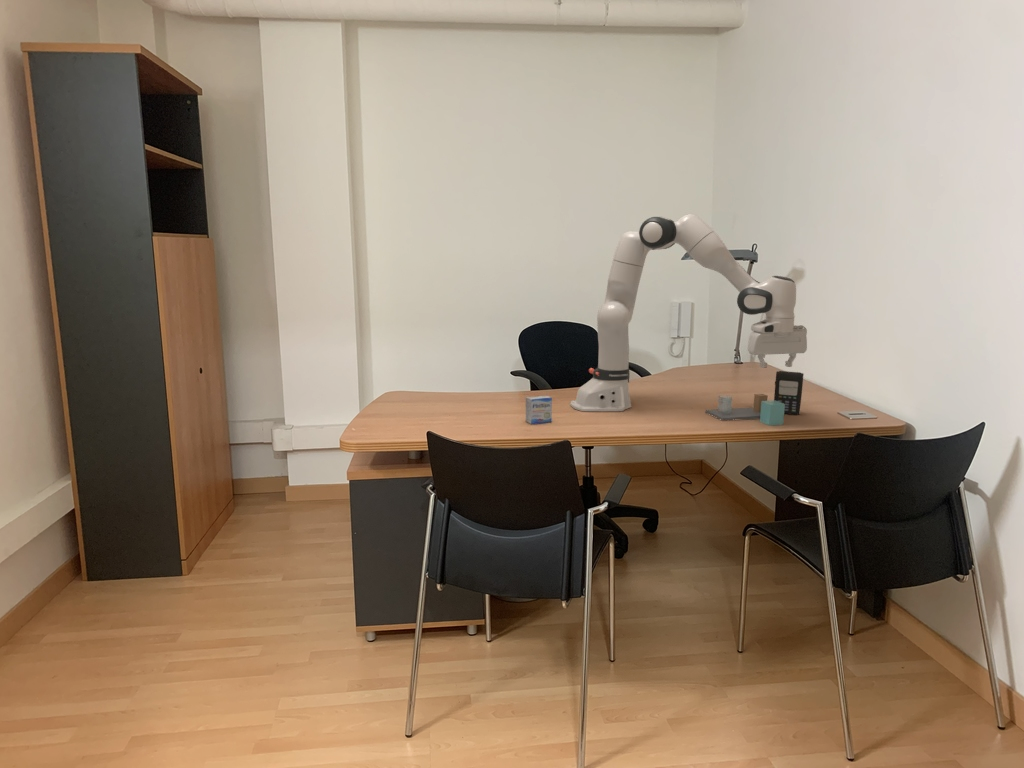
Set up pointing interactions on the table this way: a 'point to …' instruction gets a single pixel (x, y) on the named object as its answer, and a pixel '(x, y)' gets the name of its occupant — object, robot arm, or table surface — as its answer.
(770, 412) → the teal block
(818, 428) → the table surface
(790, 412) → the card reader
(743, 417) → the post board
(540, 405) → the medicine box
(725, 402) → the metal post
